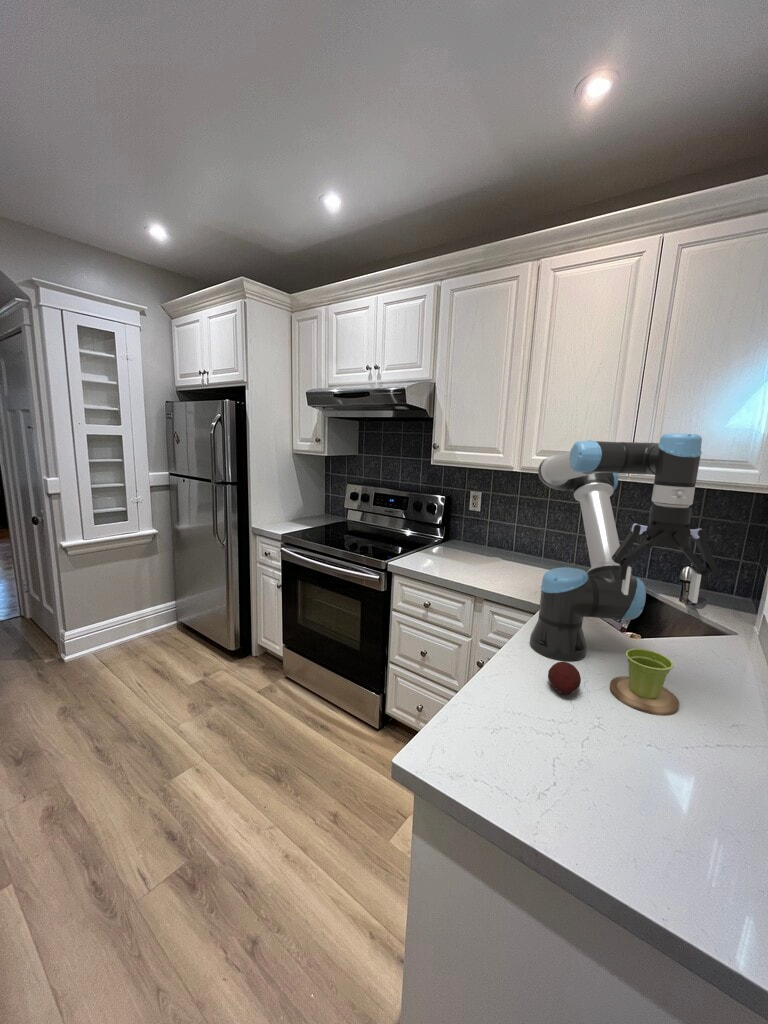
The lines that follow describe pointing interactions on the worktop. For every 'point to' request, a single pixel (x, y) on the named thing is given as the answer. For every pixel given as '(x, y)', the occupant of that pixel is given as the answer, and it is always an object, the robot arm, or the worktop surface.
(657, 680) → the plant pot
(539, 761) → the worktop surface
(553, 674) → the potato
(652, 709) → the plate
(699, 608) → the worktop surface
